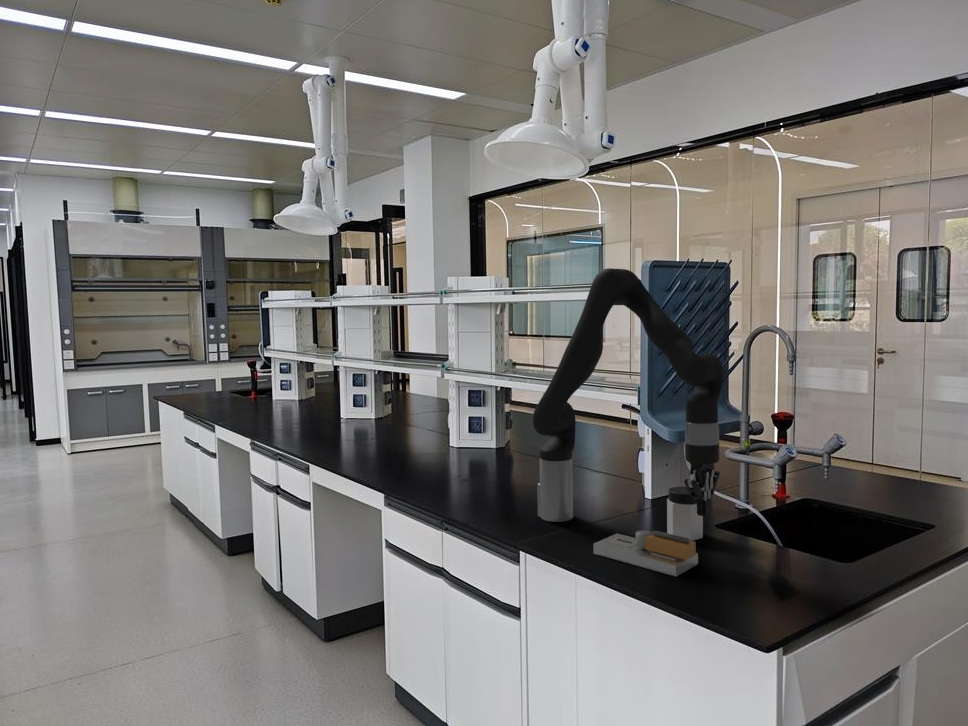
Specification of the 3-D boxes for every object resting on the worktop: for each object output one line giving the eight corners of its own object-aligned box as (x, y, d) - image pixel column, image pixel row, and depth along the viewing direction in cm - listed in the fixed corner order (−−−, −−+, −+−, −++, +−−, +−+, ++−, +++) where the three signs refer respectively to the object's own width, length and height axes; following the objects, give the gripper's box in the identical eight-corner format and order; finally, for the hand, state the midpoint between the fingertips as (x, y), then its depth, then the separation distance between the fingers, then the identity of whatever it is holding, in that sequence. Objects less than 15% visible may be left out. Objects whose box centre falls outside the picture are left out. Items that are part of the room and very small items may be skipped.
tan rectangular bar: (632, 545, 162) (632, 528, 161) (641, 541, 164) (641, 524, 164) (686, 559, 152) (686, 541, 151) (695, 555, 154) (695, 536, 154)
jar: (707, 540, 173) (707, 494, 172) (675, 542, 173) (675, 495, 172) (694, 529, 182) (694, 485, 181) (663, 531, 182) (663, 486, 181)
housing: (593, 553, 166) (593, 542, 166) (616, 543, 173) (616, 532, 173) (675, 576, 150) (675, 564, 150) (698, 564, 158) (697, 552, 157)
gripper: (703, 447, 151) (704, 524, 152) (730, 438, 160) (731, 511, 161) (672, 443, 156) (673, 518, 157) (700, 435, 165) (701, 506, 166)
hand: (702, 514), depth 159 cm, fingers closed
